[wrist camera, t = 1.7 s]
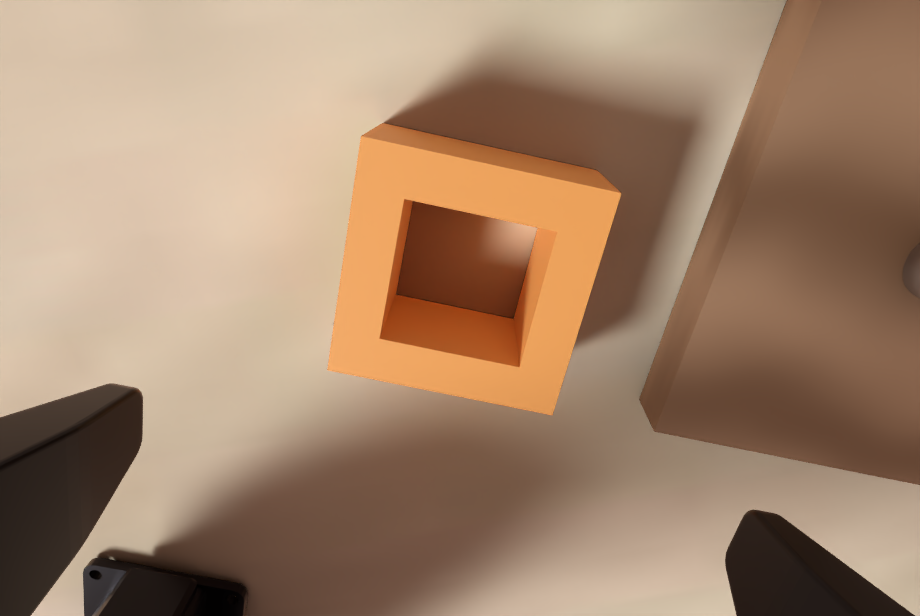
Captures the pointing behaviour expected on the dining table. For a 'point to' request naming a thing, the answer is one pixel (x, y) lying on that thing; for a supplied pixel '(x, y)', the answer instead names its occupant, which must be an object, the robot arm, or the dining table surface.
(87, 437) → the robot arm
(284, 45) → the dining table surface
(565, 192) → the orange square ring
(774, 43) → the brown peg board
